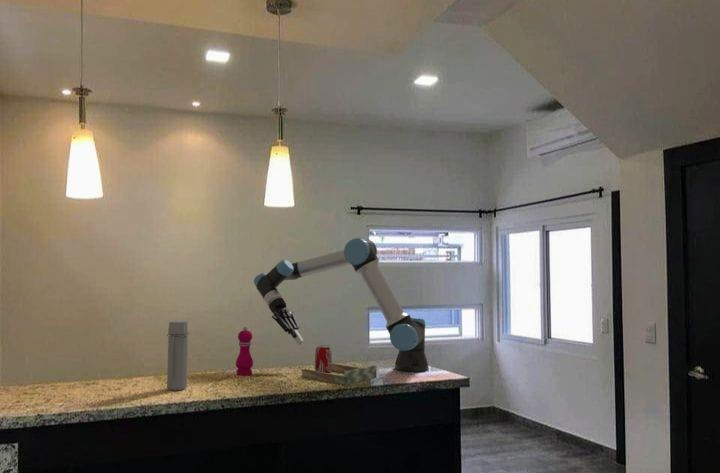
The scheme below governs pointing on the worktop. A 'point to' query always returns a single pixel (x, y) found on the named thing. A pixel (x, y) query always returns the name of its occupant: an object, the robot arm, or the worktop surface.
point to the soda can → (323, 358)
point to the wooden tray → (349, 376)
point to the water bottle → (177, 355)
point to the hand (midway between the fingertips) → (300, 342)
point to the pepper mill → (244, 353)
